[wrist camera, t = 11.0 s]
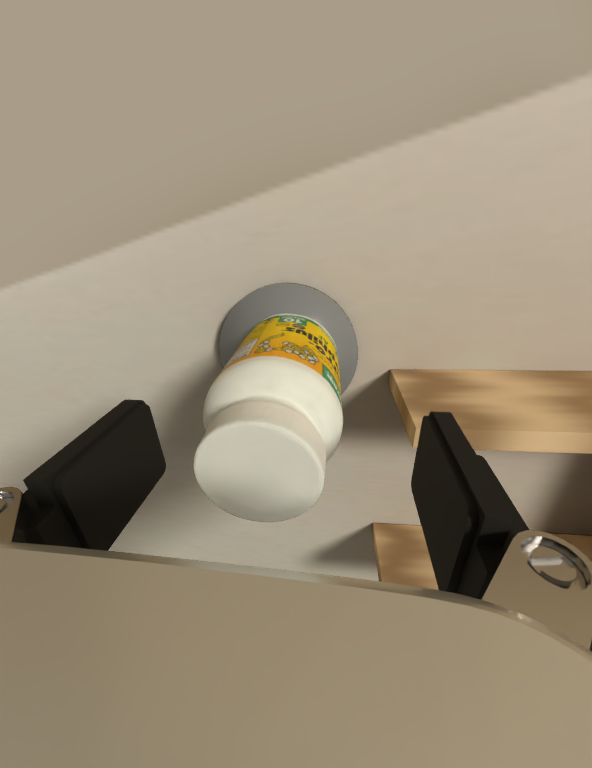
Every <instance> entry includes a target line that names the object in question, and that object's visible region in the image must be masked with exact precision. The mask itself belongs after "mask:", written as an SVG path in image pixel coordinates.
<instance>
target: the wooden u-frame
mask: <svg viewBox="0 0 592 768" xmlns="http://www.w3.org/2000/svg"><path fill="white" fill-rule="evenodd" d="M389 386H390V389H391V391H392V394H393V397H394V399H395V402H396V405H397V407H398V410H399V412H400V415H401V418H402V420H403V423H404V426H405V428H406V431H407V433H408V436H409V439H410V441H411V444H412V447H413V448H417V446H418V441H419V435H420V429H421V424H422V419H423V416H429V413H430V412H431V411H436V412H451V413H452V415H453V416H454V418H455V420H456V421H457V423H458V425H459V426H460V428H461V430H462V431H463V433H464V435H465V436H466V438H467V440H468V441H469V443H470V445H471V446H472V448H473V450H499V451H528V452H558V453H588V454H592V371H514V370H401V369H391V371H390V379H389ZM372 534H373V541H374V548H375V555H376V562H377V569H378V577H379V582H387V583H395V584H402V585H410V586H417V587H424V588H429V589H435V590H439V589H438V585H437V581H436V578H435V574H434V570H433V567H432V563H431V559H430V555H429V552H428V548H427V544H426V541H425V537H424V533H423V530H422V526H416V525H399V524H382V523H373V529H372ZM550 534H552V533H550ZM552 535H554V536H557V537H559V538H561V539H563V540H565V541H567V542H568V543H570V544H571V545H573V546H575V547H576V548H577V549H578V550H580V551H581V552H582V553H583V554H584V555H586V556H587V557H588V558H589V560H590V561H591V562H592V536H586V535H569V534H552Z"/></svg>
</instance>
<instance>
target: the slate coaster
mask: <svg viewBox="0 0 592 768" xmlns="http://www.w3.org/2000/svg"><path fill="white" fill-rule="evenodd" d="M284 313H289V314H297V315H302V316H306V317H309V318H311V319H313V320H315V321H317V322H318V323H319V324H320V325H322V326H323V327H324V328H325V329H326V330H327V331H328V333H329V334H330V335H331V337H332V339H333V341H334V343H335V345H336V349H337V355H338V363H339V375H340V388H341V395H342V394H343V393H344V391H345V390H346V389H347V387H348V386H349V384H350V382H351V380H352V378H353V376H354V374H355V370H356V366H357V360H358V347H357V340H356V336H355V333H354V329H353V327H352V324H351V322H350V320H349V318H348V317H347V315H346V314H345V312H344V311H343V310H342V308H341V307H340V306H339V305H338V304H337V303H336V302H335V301H334V300H333V299H332V298H330V297H329V296H327V295H326V294H324V293H323V292H321V291H319V290H317V289H315V288H312V287H309V286H306V285H302V284H297V283H276V284H271V285H267V286H264V287H261V288H259V289H257V290H255V291H253V292H251V293H250V294H248V295H247V296H246V297H244V298H243V299H242V300H240V301H239V302H238V303H237V304H236V305H235V306H234V307H233V309H232V310H231V311H230V313H229V314H228V316H227V318H226V320H225V322H224V324H223V327H222V330H221V334H220V339H219V354H220V360H221V365H222V367H223V368H224V367H225V366H226V364H227V363H228V361H229V360H230V359H231V357H232V356H233V355H234V353H235V352H236V350H237V349H238V348H239V346H240V345H241V344H242V342H243V341H244V340H245V338H246V337H247V335H248V334H249V333H250V332H251V330H252V329H253V328H254V327H255V326H256V325H257V324H258V323H259V322H261V321H262V320H264V319H266V318H268V317H270V316H273V315H276V314H284Z"/></svg>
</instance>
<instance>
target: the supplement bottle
mask: <svg viewBox="0 0 592 768" xmlns="http://www.w3.org/2000/svg"><path fill="white" fill-rule="evenodd" d="M203 424H204V429H205V434H204V436H203V438H202V439H201V441H200V443H199V445H198V447H197V449H196V452H195V455H194V462H193V467H194V474H195V477H196V480H197V483H198V485H199V486H200V488H201V489H202V491H203V492H204V494H205V495H206V496H207V497H208V498H209V499H210V500H211V501H212V502H213V503H214V504H216V505H217V506H218V507H220V508H221V509H223V510H224V511H226V512H228V513H230V514H232V515H234V516H237V517H240V518H243V519H247V520H252V521H258V522H277V521H283V520H288V519H291V518H294V517H297V516H299V515H301V514H303V513H304V512H305V511H307V510H308V509H309V508H311V507H312V506H313V505H314V504H315V502H316V501H317V499H318V498H319V496H320V494H321V492H322V489H323V485H324V478H325V464H326V462H327V461H328V460H329V459H330V457H331V456H332V455H333V453H334V452H335V450H336V448H337V446H338V444H339V441H340V438H341V434H342V429H343V411H342V400H341V388H340V375H339V363H338V355H337V349H336V345H335V343H334V341H333V339H332V337H331V335H330V334H329V333H328V331H327V330H326V329H325V328H324V327H323V326H322V325H320V324H319V323H318V322H317V321H315V320H313V319H311V318H309V317H306V316H302V315H297V314H289V313H284V314H276V315H273V316H270V317H268V318H266V319H264V320H262V321H261V322H259V323H258V324H257V325H256V326H255V327H254V328H253V329H252V330H251V332H250V333H249V334H248V335H247V337H246V338H245V340H244V341H243V342H242V344H241V345H240V346H239V348H238V349H237V350H236V352H235V353H234V355H233V356H232V357H231V359H230V360H229V361H228V363H227V364H226V366H225V367H224V368H223V370H222V371H221V372H220V374H219V375H218V377H217V378H216V379H215V381H214V382H213V384H212V385H211V387H210V389H209V391H208V393H207V396H206V398H205V402H204V407H203Z"/></svg>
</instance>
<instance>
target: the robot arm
mask: <svg viewBox="0 0 592 768" xmlns="http://www.w3.org/2000/svg"><path fill="white" fill-rule="evenodd" d="M165 468H166V463H165V459H164V456H163V452H162V449H161V445H160V442H159V438H158V435H157V431H156V428H155V424H154V421H153V417H152V414H151V410H150V407H149V406H148V405H146V404H145V402H144V401H142V400H124V401H122V402H121V403H120V404H119V405H117V406H116V407H115V408H113V409H112V410H111V411H110V412H108V413H107V414H106V415H105V416H103V417H102V418H101V419H100V420H98V421H97V422H96V423H95V424H93V425H92V426H91V427H89V428H88V429H87V430H86V431H84V432H83V433H82V434H81V435H79V436H78V437H77V438H76V439H74V440H73V441H72V442H70V443H69V444H68V445H67V446H65V447H64V448H63V449H62V450H60V451H59V452H58V453H57V454H55V455H54V456H53V457H52V458H50V459H49V460H48V461H46V462H45V463H44V464H43V465H41V466H40V467H39V468H38V469H36V470H35V471H34V472H33V473H31V474H30V475H29V476H28V477H26V478H25V479H24V480H23V481H24V483H25V484H26V486H27V488H28V490H27V491H26V492H25V493H23V494H22V492H21V491H20V490H19V489H18V488H15V487H4V488H0V768H592V562H591V561H590V560H589V558H588V557H587V556H586V555H584V554H583V553H582V552H581V551H580V550H578V549H577V548H576V547H575V546H573V545H571V544H570V543H568V542H567V541H565V540H563V539H561V538H559V537H557V536H554V535H552V534H550V533H546V532H541V531H537V530H529V529H528V527H527V525H526V524H525V522H524V521H523V519H522V517H521V516H520V514H519V513H518V511H517V509H516V508H515V506H514V505H513V503H512V501H511V500H510V498H509V497H508V495H507V493H506V492H505V490H504V489H503V487H502V485H501V484H500V482H499V481H498V479H497V477H496V476H495V474H494V473H493V471H492V469H491V468H490V466H489V465H488V463H487V461H486V460H485V459H484V458H483V457H482V456H480V455H476V453H475V451H474V450H473V448H472V446H471V445H470V443H469V441H468V440H467V438H466V436H465V435H464V433H463V431H462V430H461V428H460V426H459V425H458V423H457V421H456V420H455V418H454V416H453V415H452V413H451V412H436V411H431V412H430V413H429V416H423V419H422V424H421V429H420V435H419V441H418V446H417V452H416V457H415V463H414V469H413V474H412V481H411V487H412V493H413V496H414V500H415V504H416V507H417V511H418V515H419V518H420V522H421V526H422V530H423V533H424V537H425V541H426V544H427V548H428V552H429V555H430V559H431V563H432V567H433V570H434V574H435V578H436V581H437V585H438V589H439V590H435V589H429V588H424V587H417V586H410V585H402V584H395V583H387V582H379V581H372V580H364V579H357V578H349V577H340V576H331V575H323V574H314V573H305V572H297V571H288V570H279V569H270V568H262V567H253V566H244V565H235V564H226V563H217V562H207V561H198V560H189V559H180V558H171V557H161V556H152V555H143V554H133V553H123V552H113V551H108V550H109V548H110V547H111V546H112V544H113V543H114V541H115V540H116V539H117V537H118V536H119V534H120V533H121V532H122V530H123V529H124V528H125V526H126V525H127V523H128V522H129V521H130V519H131V518H132V517H133V515H134V514H135V512H136V511H137V510H138V508H139V507H140V505H141V504H142V503H143V501H144V500H145V499H146V497H147V496H148V494H149V493H150V492H151V490H152V489H153V488H154V486H155V485H156V483H157V482H158V481H159V479H160V478H161V476H162V475H163V474H164V472H165Z"/></svg>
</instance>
